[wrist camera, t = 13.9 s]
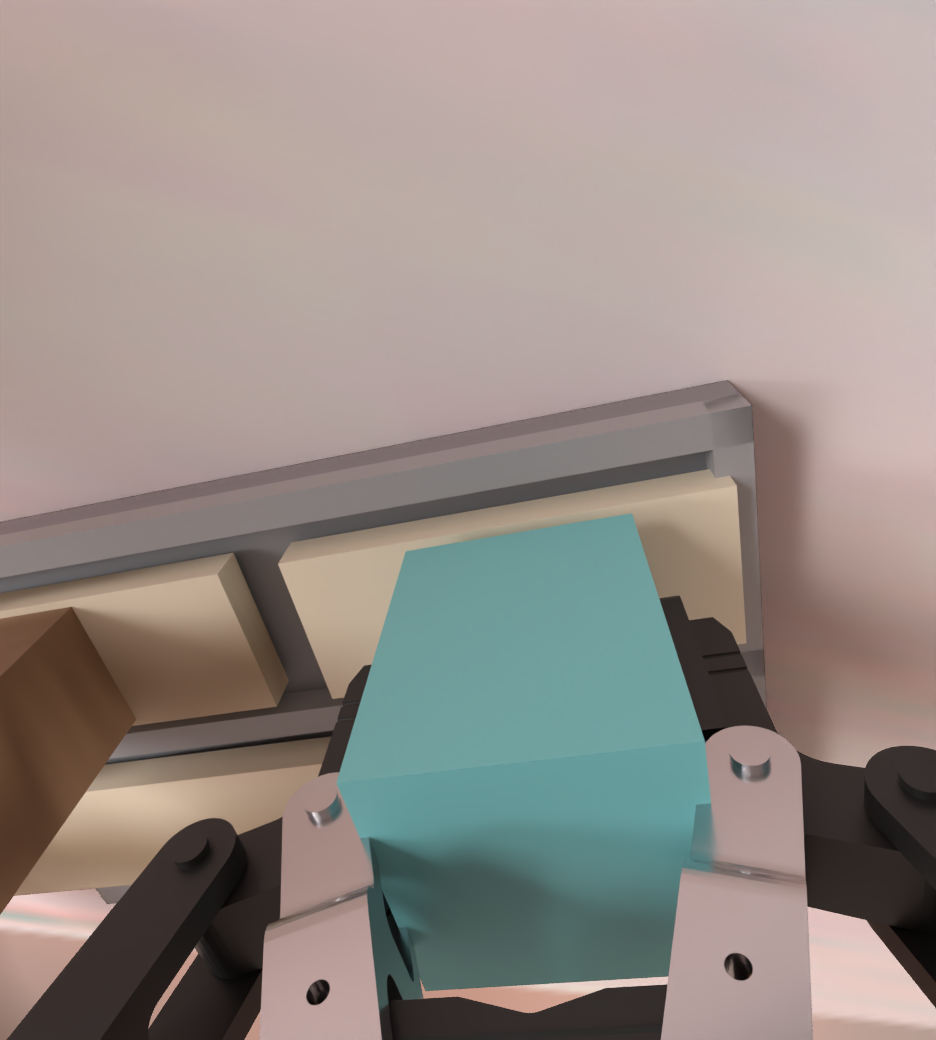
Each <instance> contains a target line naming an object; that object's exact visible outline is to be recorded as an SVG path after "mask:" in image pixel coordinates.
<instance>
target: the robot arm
mask: <svg viewBox="0 0 936 1040" xmlns="http://www.w3.org/2000/svg"><path fill="white" fill-rule="evenodd" d="M659 599H660V602H661V606H662V609H663V612H664V615H665V618H666V621H667V624H668V627H669V631H670V634H671V637H672V640H673V643H674V646H675V649H676V652H677V656H678V659H679V662H680V665H681V668H682V671H683V674H684V677H685V681H686V684H687V687H688V690H689V693H690V696H691V699H692V702H693V706H694V709H695V712H696V715H697V718H698V721H699V724H700V727H701V730H702V734H703V737H704V740H705V747H706V757H707V767H708V777H709V787H710V796H711V803H708V804H698V805H696V810H695V819H694V828H693V837H692V846H691V854H690V859H685V860H684V862H683V866H682V871H681V878H680V886H679V894H678V902H677V910H676V919H675V927H674V935H673V943H672V952H671V960H670V968H669V976H668V985H653V986H636V987H618V988H605V989H602V990H599V991H596V992H594V993H591V994H588V995H585V996H582V997H579V998H576V999H574V1000H571V1001H568V1002H565V1003H562V1004H559V1005H557V1006H554V1007H551V1008H548V1009H545V1010H542V1011H539V1012H536V1013H523V1012H519V1011H514V1010H510V1009H506V1008H502V1007H498V1006H494V1005H490V1004H485V1003H482V1002H477V1001H473V1000H469V999H465V998H461V997H446V998H428V999H423V994H422V989H421V983H420V977H419V971H418V964H417V958H416V952H415V946H414V944H413V941H412V939H411V936H410V934H409V932H408V929H407V927H401V928H398V926H397V923H396V921H395V919H394V916H393V914H392V912H391V909H390V907H389V905H388V902H387V900H386V898H385V895H384V893H383V891H382V886H381V878H380V871H379V863H378V858H377V856H376V853H375V851H374V849H373V846H372V844H371V841H370V839H369V837H366V838H360V837H359V835H358V832H357V830H356V828H355V825H354V823H353V821H352V818H351V816H350V814H349V811H348V809H347V807H346V804H345V802H344V800H343V797H342V795H341V793H340V790H339V788H338V786H337V783H336V782H337V779H338V776H339V772H340V769H341V766H342V762H343V759H344V756H345V752H346V749H347V746H348V742H349V739H350V736H351V732H352V729H353V726H354V722H355V719H356V716H357V712H358V709H359V705H360V702H361V699H362V695H363V692H364V689H365V685H366V682H367V679H368V675H369V672H370V669H371V665H365V666H363V667H362V669H361V670H360V671H359V672H358V673H357V675H356V676H355V677H354V678H353V679H352V681H351V682H350V683H349V685H348V688H347V691H346V694H345V697H344V700H343V707H341V709H340V712H339V715H338V718H337V719H338V722H337V723H336V724H335V727H334V730H333V733H332V736H331V739H330V742H329V745H328V748H327V751H326V754H325V757H324V760H323V763H322V766H321V769H320V772H319V775H318V777H316V778H314V779H313V780H311V781H309V782H307V783H306V784H305V785H303V786H302V787H301V788H300V789H298V790H297V791H296V792H295V794H294V795H293V796H292V797H291V798H290V800H289V801H288V803H287V805H286V807H285V810H284V813H283V817H281V818H279V819H277V820H275V821H272V822H270V823H267V824H265V825H262V826H260V827H257V828H254V829H252V830H249V831H247V832H244V833H242V834H239V835H237V833H236V831H235V829H234V827H233V826H232V825H231V824H230V822H228V821H226V820H224V819H221V818H208V819H204V820H200V821H197V822H195V823H193V824H191V825H188V826H187V827H185V828H183V829H182V830H180V831H179V832H178V833H176V834H175V835H174V836H173V837H171V838H170V839H169V840H168V841H167V842H166V843H165V845H164V846H163V847H162V848H161V849H160V850H159V852H158V853H157V854H156V855H155V857H154V858H153V859H152V860H151V862H150V863H149V864H148V865H147V867H146V868H145V869H144V870H143V872H142V873H141V874H140V875H139V876H138V878H137V879H136V880H135V881H134V883H133V884H132V885H131V886H130V888H129V889H128V890H127V891H126V893H125V894H124V895H123V896H122V898H121V899H120V900H119V901H118V902H117V904H116V905H115V906H114V907H113V909H112V910H111V911H110V912H109V914H108V915H107V916H106V917H105V919H104V920H103V921H102V922H101V924H100V925H99V926H98V927H97V928H96V930H95V931H94V932H93V933H92V935H91V936H90V937H89V938H88V940H87V941H86V942H85V943H84V945H83V946H82V947H81V948H80V950H79V951H78V952H77V953H76V955H75V956H74V957H73V958H72V959H71V961H70V962H69V963H68V965H67V966H66V967H65V968H64V970H63V971H62V972H61V973H60V974H59V976H58V977H57V978H56V979H55V981H54V982H53V983H52V984H51V985H50V987H49V988H48V989H47V991H46V992H45V993H44V994H43V995H42V997H41V998H40V999H39V1000H38V1002H37V1003H36V1004H35V1005H34V1007H33V1008H32V1009H31V1010H30V1011H29V1013H28V1014H27V1015H26V1017H25V1018H24V1019H23V1020H22V1021H21V1023H20V1024H19V1025H18V1026H17V1028H16V1029H15V1030H14V1031H13V1033H12V1034H11V1035H10V1036H9V1037H8V1039H7V1040H244V1039H245V1037H246V1035H247V1034H248V1032H249V1030H250V1028H251V1026H252V1025H253V1023H254V1021H255V1019H256V1017H257V1015H258V1014H259V1012H260V1010H261V1017H260V1019H261V1020H260V1040H813V1030H812V1005H811V981H810V957H809V933H808V908H807V906H808V907H812V908H817V909H821V910H825V911H830V912H834V913H838V914H843V915H847V916H852V917H856V918H860V919H865V920H867V922H868V923H869V925H870V926H871V927H872V929H873V930H874V931H875V932H876V934H877V935H878V936H879V938H880V939H881V940H882V941H883V943H884V944H885V945H886V946H887V948H888V949H889V950H890V951H891V953H892V954H893V955H894V956H895V958H896V959H897V960H898V961H899V963H900V964H901V965H902V966H903V968H904V969H905V970H906V971H907V973H908V974H909V975H910V976H911V978H912V979H913V980H914V981H915V983H916V984H917V985H918V986H919V988H920V989H921V990H922V991H923V993H924V994H925V995H926V996H927V998H928V999H929V1000H930V1001H931V1003H932V1004H933V1005H934V1006H935V1008H936V751H935V750H932V749H928V748H923V747H916V746H898V747H891V748H888V749H885V750H882V751H880V752H878V753H877V754H875V755H874V756H873V757H872V758H871V759H870V760H869V761H868V763H867V765H866V768H860V767H853V766H846V765H839V764H833V763H827V762H823V761H819V760H816V759H813V758H811V757H808V756H806V755H804V754H802V753H800V752H798V751H796V749H795V748H794V746H793V745H792V744H791V743H790V742H789V741H788V740H786V739H785V738H784V737H782V736H781V735H779V734H778V733H777V731H776V729H775V727H774V725H773V723H772V721H771V718H770V716H769V714H768V712H767V709H766V707H765V705H764V703H763V701H762V698H761V696H760V694H759V692H758V689H757V687H756V685H755V683H754V681H753V678H752V676H751V674H750V672H749V671H748V669H747V665H746V663H745V661H744V658H743V656H742V655H741V653H740V649H739V647H738V645H737V643H736V641H735V638H734V636H733V634H732V632H731V631H730V630H729V629H727V628H726V627H725V626H724V625H722V624H721V623H720V622H719V621H717V620H716V619H715V618H713V617H709V618H702V619H695V620H689V619H688V616H687V613H686V610H685V608H684V605H683V602H682V600H681V597H680V596H679V595H678V596H671V597H664V598H659ZM194 948H195V949H196V950H197V952H198V953H199V954H198V955H197V957H196V959H195V960H194V961H193V963H192V964H191V966H190V967H189V969H188V970H187V972H186V973H185V975H184V976H183V978H182V979H181V981H180V982H179V984H178V985H177V987H176V988H175V990H174V991H173V993H172V995H171V996H170V997H169V999H168V1001H167V1002H166V1003H165V1005H164V1006H163V1008H162V1010H161V1011H160V1012H159V1014H158V1016H157V1017H156V1019H155V1020H154V1022H153V1023H152V1025H151V1026H150V1028H149V1029H148V1026H149V1022H150V1018H151V1015H152V1013H153V1010H154V1008H155V1006H156V1004H157V1002H158V1001H159V1000H160V998H161V997H162V995H163V993H164V992H165V991H166V989H167V988H168V986H169V985H170V983H171V982H172V980H173V979H174V977H175V976H176V974H177V973H178V971H179V970H180V968H181V967H182V965H183V964H184V962H185V961H186V959H187V958H188V956H189V955H190V954H191V952H192V951H193V949H194Z"/></svg>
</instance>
